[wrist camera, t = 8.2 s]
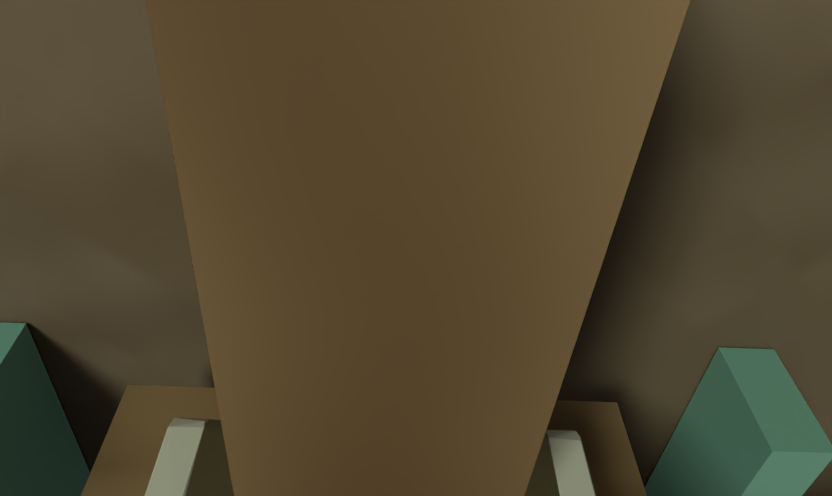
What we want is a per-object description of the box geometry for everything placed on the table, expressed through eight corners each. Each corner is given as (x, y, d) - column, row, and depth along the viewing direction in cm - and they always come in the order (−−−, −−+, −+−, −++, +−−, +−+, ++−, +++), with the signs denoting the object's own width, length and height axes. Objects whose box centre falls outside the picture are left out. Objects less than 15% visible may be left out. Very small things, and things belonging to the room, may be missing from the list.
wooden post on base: (910, -282, 6) (1862, -303, 2) (606, 428, 13) (696, 738, 9) (-110, -390, 5) (-1440, -704, 2) (135, 412, 12) (9, 736, 8)
